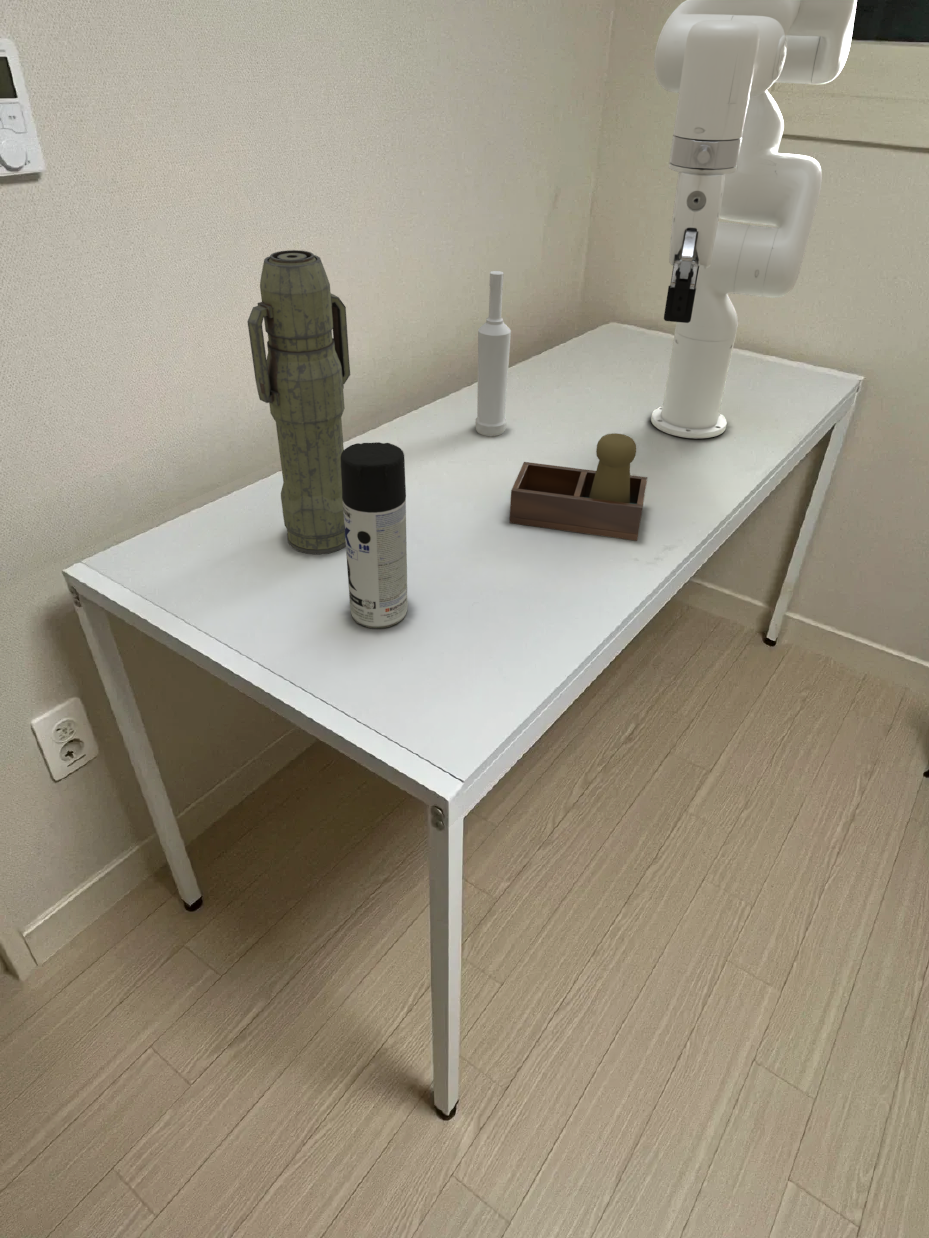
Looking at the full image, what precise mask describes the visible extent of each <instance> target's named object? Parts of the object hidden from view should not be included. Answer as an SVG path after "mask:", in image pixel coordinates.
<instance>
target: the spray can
mask: <svg viewBox="0 0 929 1238" xmlns="http://www.w3.org/2000/svg"><path fill="white" fill-rule="evenodd" d="M341 478H342V499H343V514H344V527H345V541H346V547H345V553H346V555H345V556H346V568H347V583H348V597H349V598H348V599H349V608H350V614H351V618H352V619H353V620H354V621H355V622H356V623H357V624H359V625H361V626H363V627H364V628H369V629H386V628H390V627H393V626H395V625H397V624H399V623H400V622H402V621H403V620H404V618H405V617H406V616H407V611H408V607H409V605H408V552H407V545H408V544H407V542H408V541H407V491H406V489H407V486H406V463H405V453H404V451H403V450H402V448H401V447H399V446H397V445H395V444H393V443H390V442H380V441H378V442H376V441H375V442H362V443H354V444H351V445H348V446H347V447H345V448H344V450H343V452H342V454H341Z"/></svg>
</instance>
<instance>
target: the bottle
mask: <svg viewBox="0 0 929 1238" xmlns="http://www.w3.org/2000/svg"><path fill="white" fill-rule="evenodd" d="M503 287H504V272H503V271H500V270H493V271H492V270H491V271H489V294H488V295H489V296H488V297H489V299H488V302H489V303H488V317H486V319H485V322H484V323H483V324H482V325H480V326H479V327H478V329H477V396H476V397H477V398H476V399H477V403H476V407H477V408H476V410H477V412H476V413H477V414H476V415H477V416H476V418H475V431H476V432H477V433H478V434H480V435H482V436H487V437H497V436H501V435H503V434H504V433H505V431H506V429H507V418H506V406H507V394H508V393H507V391H508V390H507V389H508V379H509V378H508V377H509V366H510V365H509V363H510V352H511V351H510V350H511V349H510V348H511V337H512V336H511V334H512V329H511V328H510V327H509V326H507V324H506V323H505V322H504V318H503V317H502V311H503V310H502V309H503V308H502V307H503Z"/></svg>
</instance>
